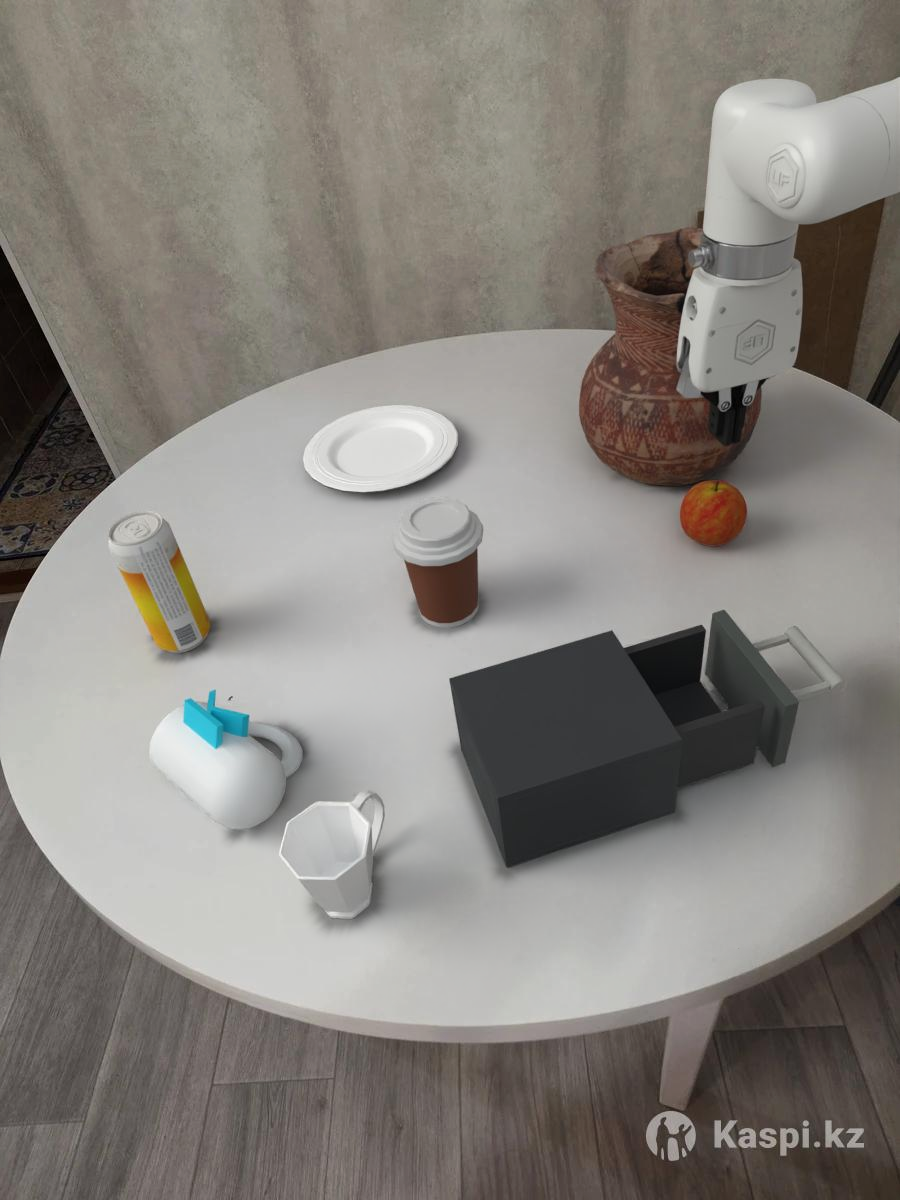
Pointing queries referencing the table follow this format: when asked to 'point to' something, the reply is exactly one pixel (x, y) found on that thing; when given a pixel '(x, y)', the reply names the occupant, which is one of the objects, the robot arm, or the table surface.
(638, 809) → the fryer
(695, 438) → the jug
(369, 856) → the cup
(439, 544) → the coffee cup
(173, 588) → the beer can
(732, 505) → the fruit
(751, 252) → the robot arm
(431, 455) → the plate
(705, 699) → the grey drawer
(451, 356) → the table surface
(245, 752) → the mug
